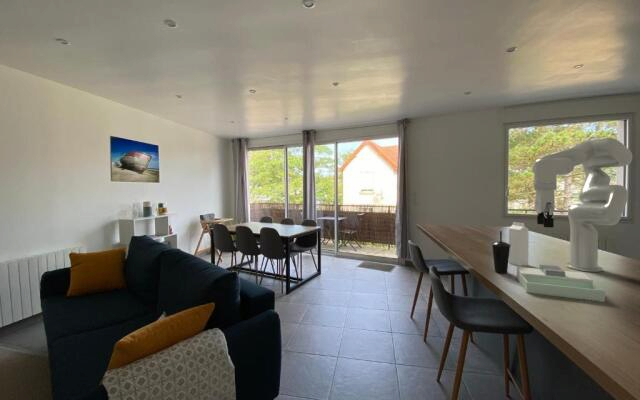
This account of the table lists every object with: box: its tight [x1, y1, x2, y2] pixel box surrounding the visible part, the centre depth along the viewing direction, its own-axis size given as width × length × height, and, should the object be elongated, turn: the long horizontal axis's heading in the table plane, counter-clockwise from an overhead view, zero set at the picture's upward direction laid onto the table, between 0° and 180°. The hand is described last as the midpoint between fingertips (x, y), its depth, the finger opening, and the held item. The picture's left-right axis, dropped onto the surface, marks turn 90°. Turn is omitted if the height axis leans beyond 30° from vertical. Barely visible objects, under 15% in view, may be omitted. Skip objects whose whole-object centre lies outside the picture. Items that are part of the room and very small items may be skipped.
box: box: [520, 276, 606, 303], centre depth 101 cm, size 9×22×4 cm, turn 63°
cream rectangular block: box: [516, 266, 594, 283], centre depth 109 cm, size 9×22×5 cm, turn 63°
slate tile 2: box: [543, 268, 565, 277], centre depth 107 cm, size 4×6×2 cm, turn 63°
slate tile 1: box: [539, 264, 562, 272], centre depth 111 cm, size 4×6×2 cm, turn 63°
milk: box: [508, 221, 530, 267], centre depth 138 cm, size 6×6×22 cm
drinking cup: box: [491, 230, 511, 274], centre depth 126 cm, size 8×8×20 cm
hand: (545, 225), depth 116 cm, fingers open, 9 cm apart
